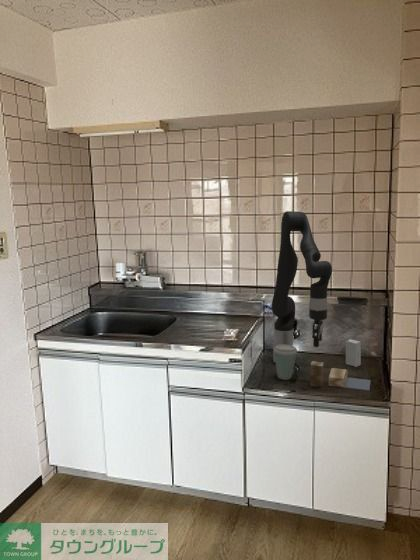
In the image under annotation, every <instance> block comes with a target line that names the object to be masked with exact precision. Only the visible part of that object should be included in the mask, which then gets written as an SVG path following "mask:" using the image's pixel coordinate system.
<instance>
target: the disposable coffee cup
mask: <svg viewBox="0 0 420 560" xmlns="http://www.w3.org/2000/svg"><path fill="white" fill-rule="evenodd" d="M274 352H275V361H276V363H275V369H276V376H277V378H278V379H279V380H282V381H283V380H285V381H287V380H291V378H292V376H293V374H294V373H293V372H294V368H295V362H296V357H297V353H298V350H297V347H296V346H294V345H293V346H292V345H283V344H282V345H277V346H275V348H274Z"/></svg>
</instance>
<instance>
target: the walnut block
mask: <svg viewBox="0 0 420 560" xmlns="http://www.w3.org/2000/svg"><path fill="white" fill-rule="evenodd" d="M324 365H325V364H324V361H323V362H322V361H314V360H312V361H311V363H310V380H309V381H310V384H309V386H311V387H315V388H316V387H317V388H323V386H324Z"/></svg>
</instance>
